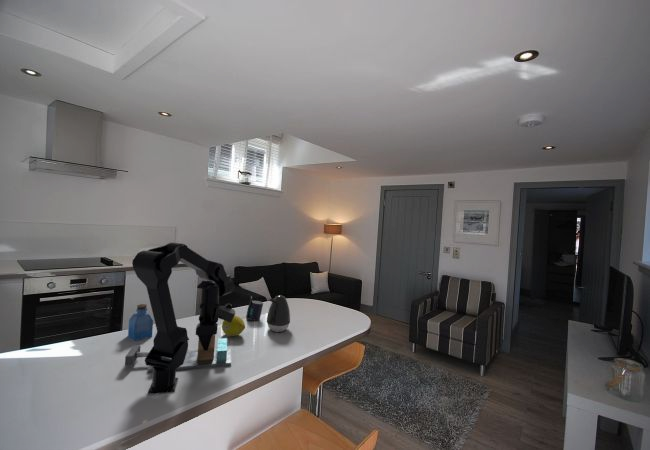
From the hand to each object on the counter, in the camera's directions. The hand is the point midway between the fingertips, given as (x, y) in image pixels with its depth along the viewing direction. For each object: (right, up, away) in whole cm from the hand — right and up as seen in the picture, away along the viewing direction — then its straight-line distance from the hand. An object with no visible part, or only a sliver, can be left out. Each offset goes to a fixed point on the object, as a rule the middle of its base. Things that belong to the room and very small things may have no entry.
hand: (206, 345), depth 100 cm
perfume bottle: (-31, -2, +14) cm, 34 cm away
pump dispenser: (+19, -6, +31) cm, 37 cm away
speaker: (+6, -5, +42) cm, 43 cm away
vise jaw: (-16, -2, -5) cm, 17 cm away
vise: (-4, -4, -1) cm, 6 cm away
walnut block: (0, -4, 0) cm, 4 cm away
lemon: (+2, -5, +21) cm, 22 cm away
